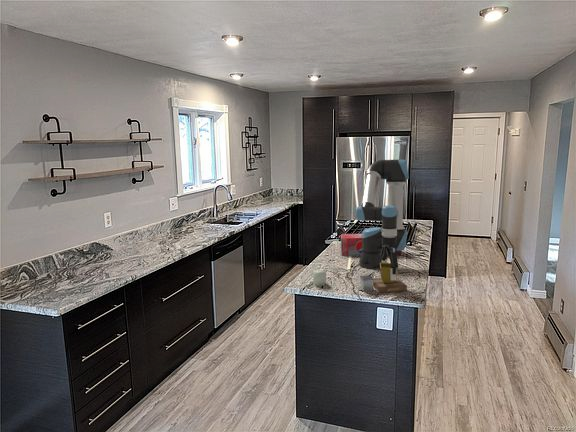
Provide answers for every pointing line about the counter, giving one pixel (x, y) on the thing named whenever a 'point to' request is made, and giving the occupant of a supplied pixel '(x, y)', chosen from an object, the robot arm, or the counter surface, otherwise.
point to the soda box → (354, 245)
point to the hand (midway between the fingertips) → (388, 276)
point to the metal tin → (366, 283)
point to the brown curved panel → (389, 286)
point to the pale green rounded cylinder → (319, 277)
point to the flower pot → (386, 272)
